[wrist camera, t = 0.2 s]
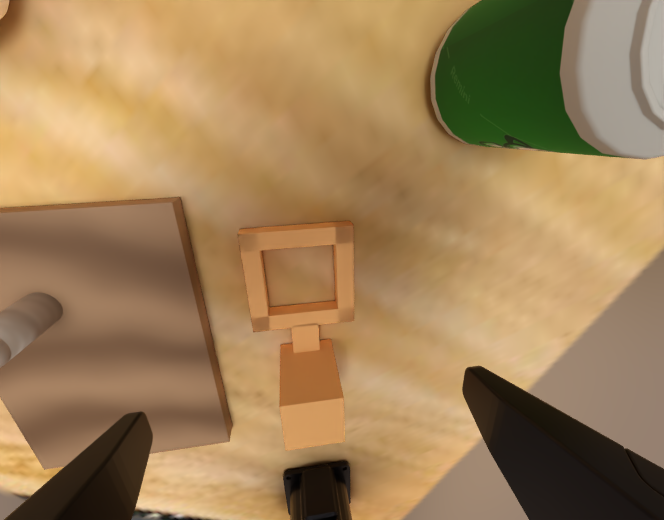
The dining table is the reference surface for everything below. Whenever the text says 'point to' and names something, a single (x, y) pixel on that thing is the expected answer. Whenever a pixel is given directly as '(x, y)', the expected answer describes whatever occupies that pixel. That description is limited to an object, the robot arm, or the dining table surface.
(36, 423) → the board
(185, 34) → the dining table surface
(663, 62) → the soda can
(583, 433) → the robot arm
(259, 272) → the square frame with handle
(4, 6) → the water bottle
